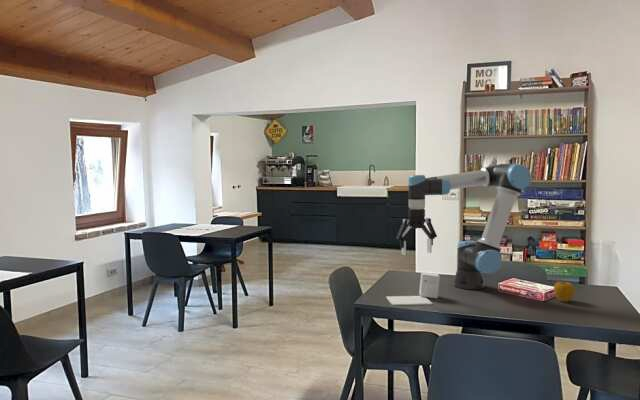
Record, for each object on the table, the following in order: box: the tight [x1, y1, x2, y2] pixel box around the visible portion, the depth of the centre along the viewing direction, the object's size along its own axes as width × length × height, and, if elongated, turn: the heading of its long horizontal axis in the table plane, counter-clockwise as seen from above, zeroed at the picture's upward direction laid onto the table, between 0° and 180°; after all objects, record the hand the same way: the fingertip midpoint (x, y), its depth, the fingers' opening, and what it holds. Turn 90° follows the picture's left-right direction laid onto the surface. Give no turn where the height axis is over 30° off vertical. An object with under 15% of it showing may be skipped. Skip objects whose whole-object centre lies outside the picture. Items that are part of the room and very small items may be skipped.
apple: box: [553, 281, 576, 303], centre depth 216 cm, size 9×8×9 cm
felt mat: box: [385, 295, 433, 306], centre depth 215 cm, size 18×12×1 cm, turn 95°
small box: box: [418, 271, 441, 299], centre depth 222 cm, size 8×6×10 cm
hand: (416, 253), depth 221 cm, fingers open, 13 cm apart
